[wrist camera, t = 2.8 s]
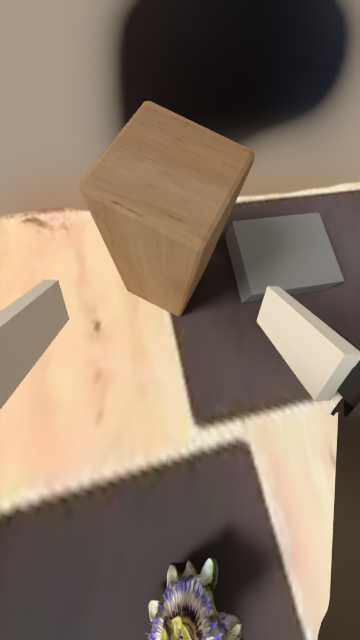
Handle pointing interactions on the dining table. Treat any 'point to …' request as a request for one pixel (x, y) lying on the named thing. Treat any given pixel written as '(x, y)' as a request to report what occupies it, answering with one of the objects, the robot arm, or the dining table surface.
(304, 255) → the plinth
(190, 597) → the passion flower
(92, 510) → the dining table surface
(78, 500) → the dining table surface
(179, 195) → the wooden block
